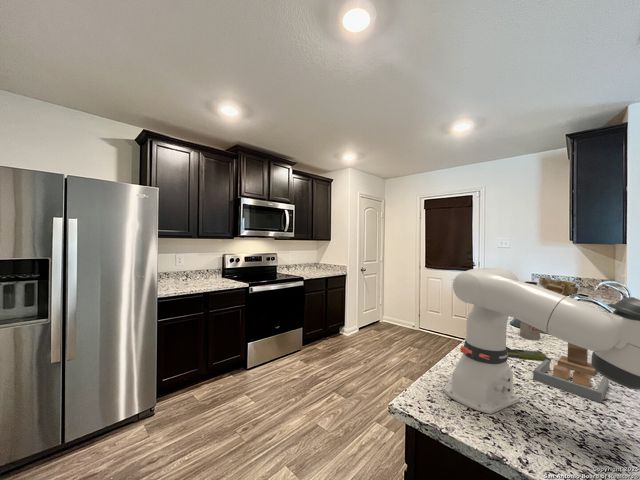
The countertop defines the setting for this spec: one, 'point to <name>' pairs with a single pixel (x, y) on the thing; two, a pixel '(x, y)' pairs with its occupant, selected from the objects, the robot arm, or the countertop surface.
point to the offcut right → (582, 378)
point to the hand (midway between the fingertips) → (628, 341)
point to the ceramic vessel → (558, 286)
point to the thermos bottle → (529, 327)
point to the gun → (527, 354)
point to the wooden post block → (577, 360)
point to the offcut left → (561, 372)
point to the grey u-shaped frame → (570, 383)
